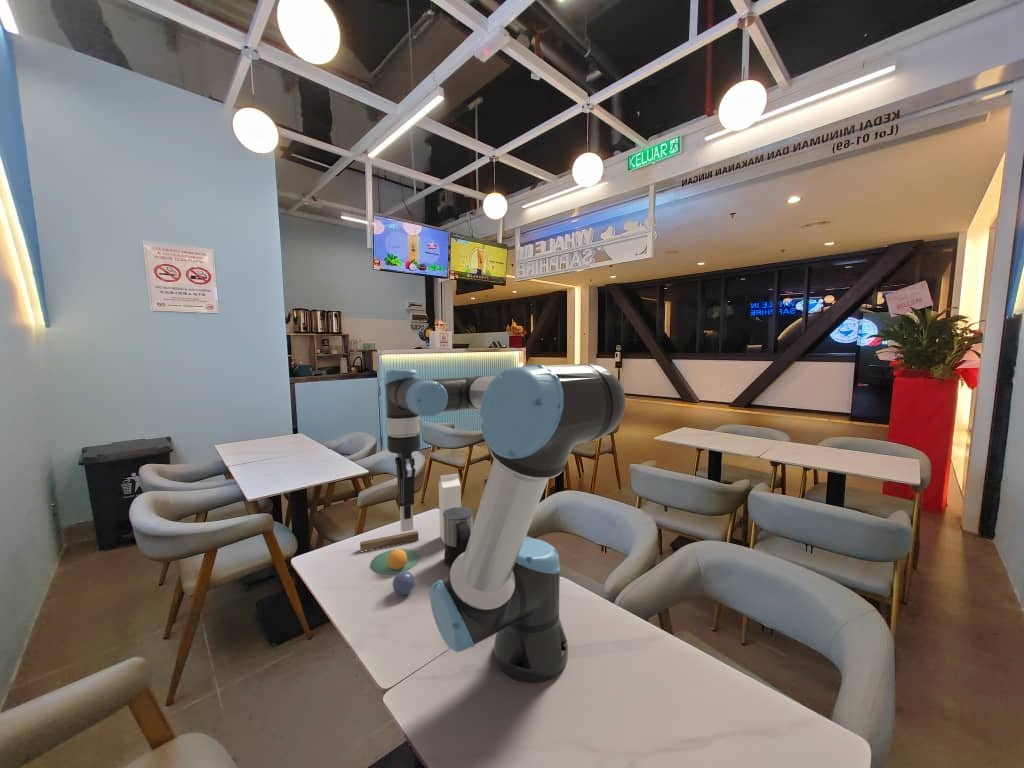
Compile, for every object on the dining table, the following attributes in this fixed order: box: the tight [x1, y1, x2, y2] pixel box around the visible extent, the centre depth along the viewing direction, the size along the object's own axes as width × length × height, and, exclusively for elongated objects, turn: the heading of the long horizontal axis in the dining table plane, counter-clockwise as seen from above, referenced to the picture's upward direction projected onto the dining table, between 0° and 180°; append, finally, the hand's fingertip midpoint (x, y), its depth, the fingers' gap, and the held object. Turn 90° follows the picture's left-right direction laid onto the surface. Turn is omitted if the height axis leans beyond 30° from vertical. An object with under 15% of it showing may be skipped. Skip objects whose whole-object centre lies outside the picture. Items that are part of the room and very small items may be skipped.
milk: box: [438, 473, 462, 544], centre depth 131 cm, size 6×6×22 cm
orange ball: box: [387, 548, 407, 570], centre depth 114 cm, size 6×6×6 cm
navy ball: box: [392, 570, 415, 596], centre depth 102 cm, size 6×6×6 cm
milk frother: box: [443, 506, 474, 568], centre depth 118 cm, size 14×16×15 cm
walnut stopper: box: [359, 530, 420, 552], centre depth 128 cm, size 2×18×2 cm, turn 115°
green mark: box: [370, 548, 420, 575], centre depth 118 cm, size 14×14×1 cm
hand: (406, 529), depth 96 cm, fingers closed
